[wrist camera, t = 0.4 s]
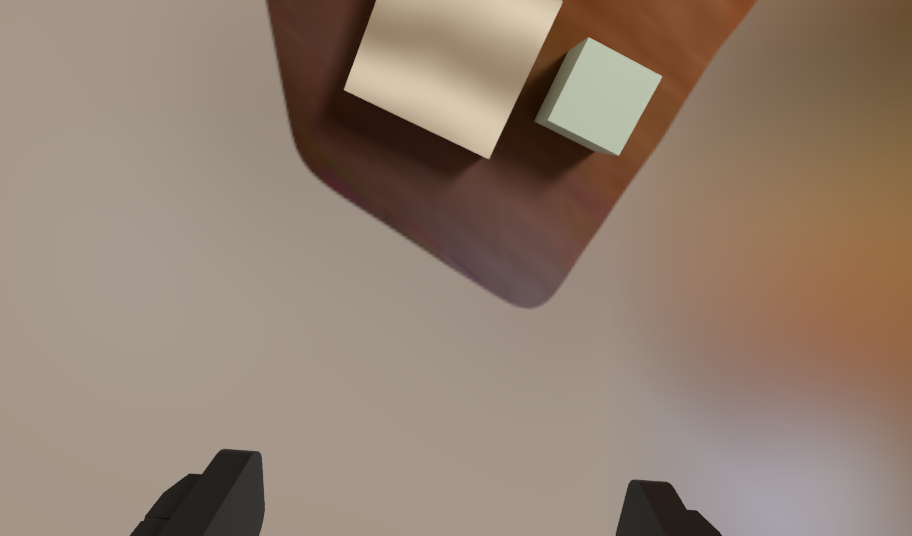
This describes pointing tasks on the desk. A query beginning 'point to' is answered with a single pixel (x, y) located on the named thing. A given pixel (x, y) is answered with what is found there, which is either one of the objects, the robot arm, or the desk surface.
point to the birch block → (451, 63)
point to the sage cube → (597, 97)
